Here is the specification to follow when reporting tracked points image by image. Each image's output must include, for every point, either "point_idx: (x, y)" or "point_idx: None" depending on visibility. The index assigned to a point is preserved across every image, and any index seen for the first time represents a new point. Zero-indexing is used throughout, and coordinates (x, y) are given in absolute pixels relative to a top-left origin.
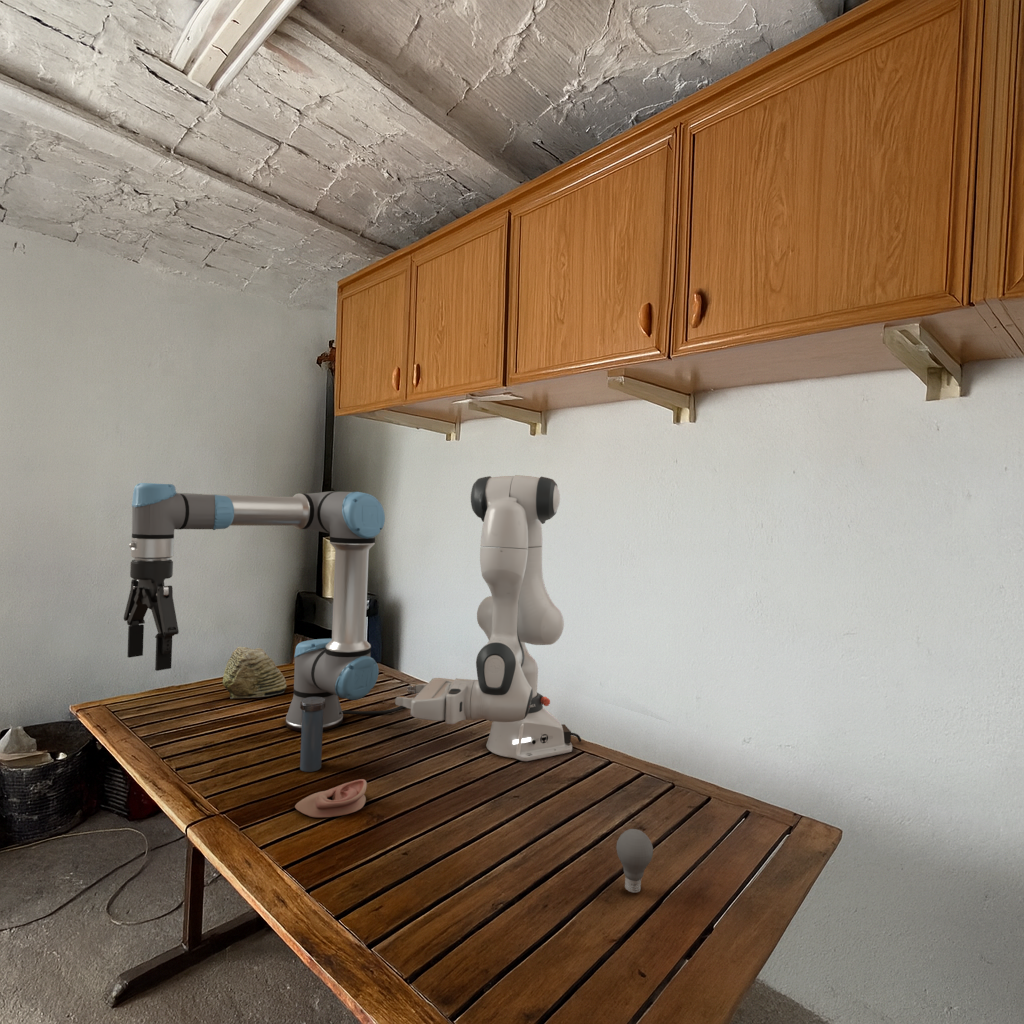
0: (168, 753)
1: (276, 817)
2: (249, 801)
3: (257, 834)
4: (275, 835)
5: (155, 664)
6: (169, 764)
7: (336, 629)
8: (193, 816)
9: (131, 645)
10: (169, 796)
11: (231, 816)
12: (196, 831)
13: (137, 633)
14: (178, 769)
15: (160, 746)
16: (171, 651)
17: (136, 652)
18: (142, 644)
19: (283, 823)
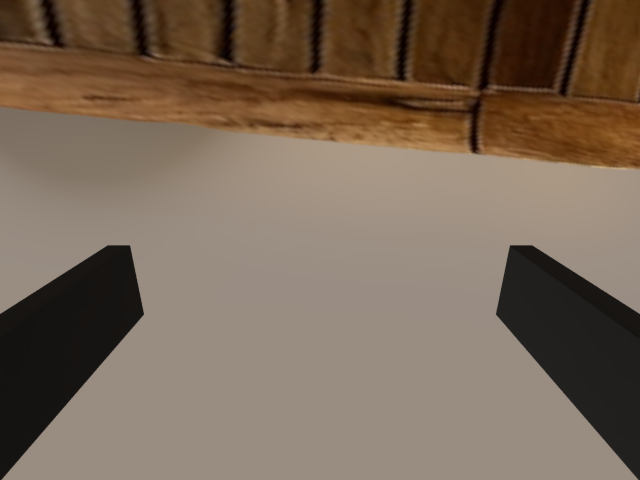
0: (118, 29)
1: (588, 16)
2: (487, 18)
3: (604, 81)
4: (636, 58)
5: (514, 332)
6: (188, 58)
7: None
8: (452, 131)
9: (101, 348)
10: (344, 127)
11: (509, 81)
12: (503, 152)
13: (27, 376)
14: (229, 55)
15: (60, 24)
16: (609, 297)
17: (124, 290)
18: (85, 280)
19: (618, 19)
